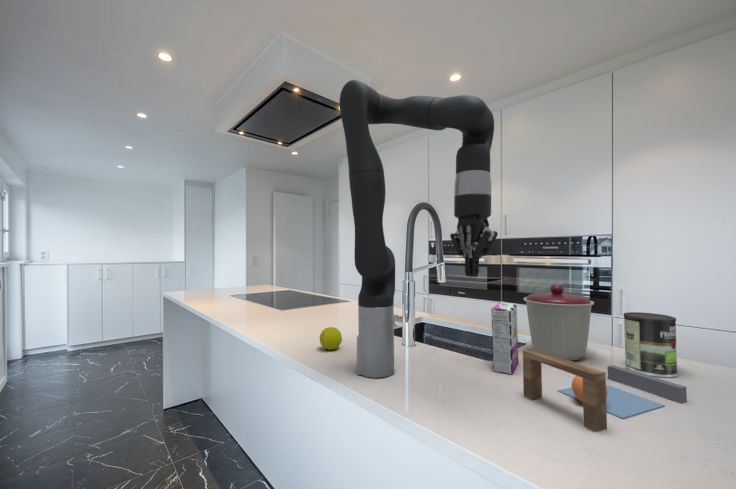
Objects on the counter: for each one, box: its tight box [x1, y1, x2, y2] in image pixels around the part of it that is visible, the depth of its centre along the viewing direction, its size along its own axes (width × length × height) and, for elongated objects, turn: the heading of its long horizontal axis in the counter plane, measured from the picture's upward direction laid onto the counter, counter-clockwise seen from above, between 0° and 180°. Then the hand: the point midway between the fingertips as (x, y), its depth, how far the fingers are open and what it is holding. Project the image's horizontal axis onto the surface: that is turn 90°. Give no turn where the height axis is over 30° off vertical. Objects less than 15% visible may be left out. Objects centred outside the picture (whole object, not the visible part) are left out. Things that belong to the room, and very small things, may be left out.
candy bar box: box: [490, 302, 520, 375], centre depth 87 cm, size 11×5×16 cm, turn 148°
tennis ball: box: [319, 326, 343, 351], centre depth 104 cm, size 7×7×7 cm
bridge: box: [522, 348, 608, 433], centre depth 63 cm, size 3×15×10 cm, turn 22°
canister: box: [523, 283, 595, 362], centre depth 96 cm, size 18×18×21 cm
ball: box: [571, 375, 608, 403], centre depth 66 cm, size 6×6×6 cm
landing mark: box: [557, 384, 666, 420], centre depth 68 cm, size 13×13×1 cm
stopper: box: [607, 364, 688, 404], centre depth 72 cm, size 2×14×3 cm, turn 22°
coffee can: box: [623, 311, 678, 379], centre depth 84 cm, size 10×10×14 cm
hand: (471, 276), depth 69 cm, fingers closed
